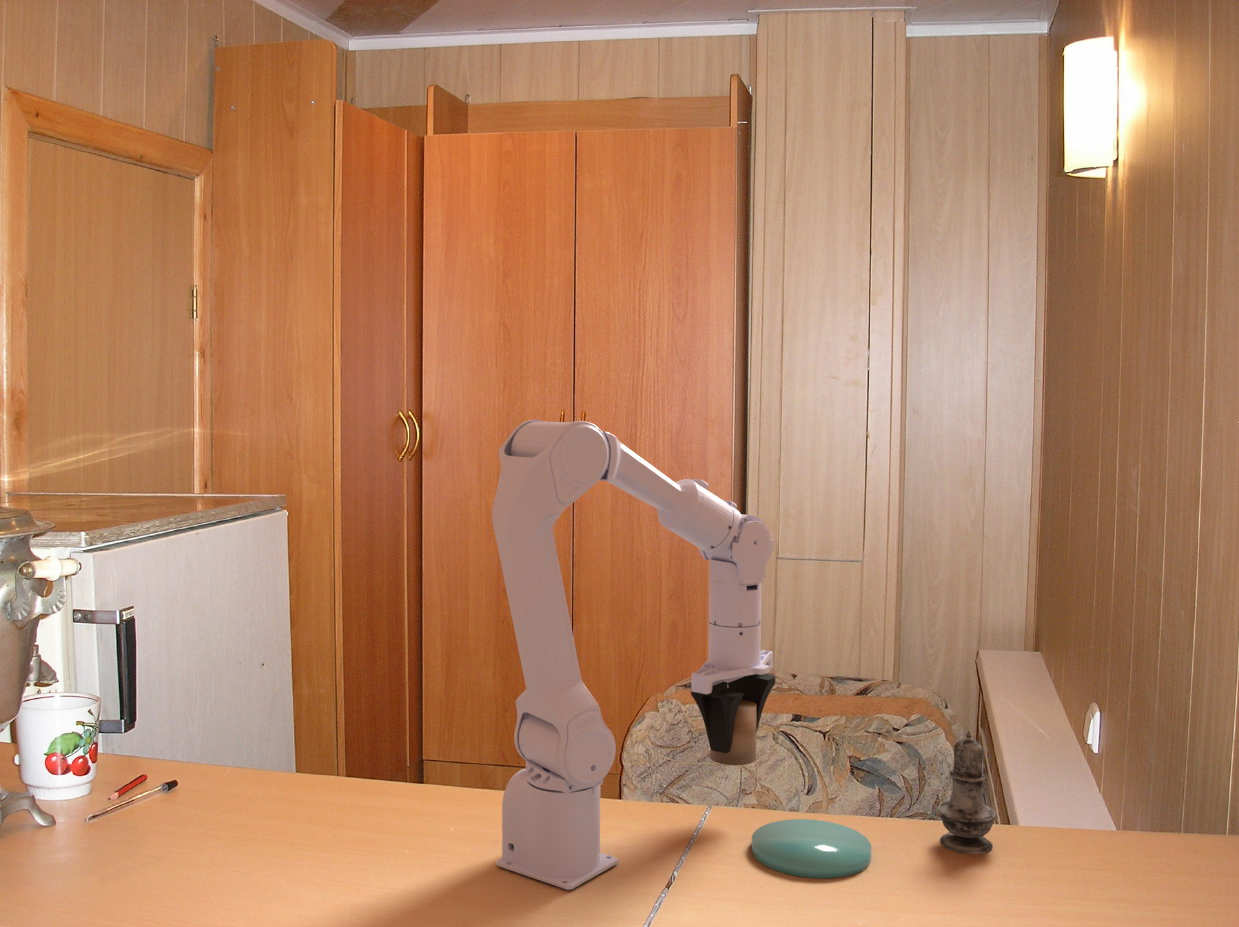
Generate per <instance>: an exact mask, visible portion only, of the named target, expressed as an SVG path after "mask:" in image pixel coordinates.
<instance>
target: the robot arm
mask: <svg viewBox="0 0 1239 927" xmlns="http://www.w3.org/2000/svg"><path fill="white" fill-rule="evenodd" d="M498 457H499V461H500V465H501V469H500V473H499V478H498V482H497V487H496V491H495V496H494V501H493V505H492V508H491V510H492V511H491V520H492V521H491V522H492V527H493V532H494V535H495V542H496V547H497V550H498V556H499V560H500V565H501V571H502V575H503V576H502V577H503V579H504V580H503V581H504V586H505V589H506V595H507V599H508V604H509V605H508V606H509V608H510V616H511V620H512V624H513V629H514V635H515V639H516V644H517V650H518V654H519V658H520V665H521V669H522V674H523V679H524V683H525V689H524V691H523V692H521V694H520V695H519V696H518V697H517V698H516V700H515V706H516V707H515V709H516V714H517V715H516V716H517V717H516V724H515V727H514V734H513V738H514V739H513V740H514V746H515V748H516V751H517V752H518V754H519V756H520V757H521V758H522V759H524V760H525V768H522V769H520V770H519V771H517V772H516V773H515V774H514V775H512V776H511V778H510V779H509V780H508V782H507V785H506V787H505V790H504V793H503V796H502V803H501V804H502V805H501V806H502V807H501V809H502V811H501V814H502V815H501V816H502V817H501V818H502V819H501V821H502V824H501V827H502V828H501V834H502V836H501V839H502V840H501V847H502V849H501V850H502V851H501V852H502V853H501V857H500V858H498V859H497V860H496V866H497V867H500V868H503V869H505V870H508V871H512V872H514V873H517V874H520V875H524V876H525V877H529V878H532V879H535V880H538V881H540V882H543V883H546V884H549V885H553V886H555V887H558V888H561V889H564V890H568V891H569V890H573V889H575V888H578V887H579V886H580V885H582V884H583V883H585V882H587V881H589V880H591V879H593V878H594V877H596V876H598V875H599V874H602V873H603V872H605V871H606V870H608V869H610V868H612V867H614V866H615V865H617V864H618V863H619V859H618V857H617V856H613V855H609V854H606V853H604V852H601V848H600V847H601V786H602V785H604V778H605V777H606V776H607V774H608V773H609V772H610V771H611V768H612V767H613V764H614V762H615V758H616V752H617V750H616V749H617V748H616V747H617V746H616V740H615V737H614V734H613V732H612V731H611V729H610V728H609V727H608V725H606V723H605V721H604V720H603V717H602V712H601V708H600V706H601V705H599V703H598V702H597V700H596V699H595V697H594V696H593V694H592V693H591V691H589V689H588V688H587V686H586V685H585V683H584V682H583V679H582V675H581V670H580V665H579V659H578V655H577V654H578V653H577V649H576V644H575V638H574V634H573V629H572V623H571V619H570V613H569V607H568V602H567V598H566V592H565V587H564V581H563V576H562V572H561V566H560V562H559V560H560V559H559V556H558V550H557V545H556V539H555V534H554V530H553V529H554V525H555V523H556V522H557V521H558V519H559V517H560V516H561V515H562V513H563V512H564V511H565V510H566V509H567V508H569V506H571V505H572V504H573V503H575V501H577V500H578V499H579V498H580V497H581V496H583V495H584V494H585V493H586V492H587V491H589V490H590V489H591V488H592V487H593V486H595V485H596V484H597V483H598V482H599V481H604V482H607V483H609V484H611V485H612V486H613V487H614V486H615V487H616V488H618V489H620V490H621V491H624V492H626V493H627V494H629V495H630V496H633V497H634V498H636V499H638V500H640V501H642V502H644V503H645V504H647V505H648V506H651V507H653V508H655V509H656V511H657V517H658V521H659V523H660V525H662V527H664V528H665V529H667V530H668V531H670V532H672V533H673V534H675V535H677V536H678V537H680V538H682V539H683V540H685V541H687V542H689V543H690V544H691V545H693V546H695V547H697V548H698V551H699V553H700V555H701V557H702V558H703V559H704V560H705V561H709V564H708V565H709V566H708V567H709V568H708V569H709V570H708V572H709V573H708V575H709V576H708V577H709V578H708V587H709V588H708V638H707V639H708V642H707V643H708V645H707V646H708V647H707V648H708V649H707V653H708V654H707V660H706V661H705V662H704V663H703V664H702V665H701V667H700V668H699V669H698V670H697V671H694V672H692V673H691V681H690V682H691V685H690V696H691V697H692V698H693V700H694V701H695V703H696V705H697V707H698V710H699V712H700V715H701V717H702V720H703V723H704V727H705V732H706V736H707V740H708V744H709V748H711V750H713V751H717V752H722V753H728V752H730V749H731V745H732V739H733V729H734V721H735V716H736V713H737V709H738V706H739V703H740V701H741V699H745V700H750V701H752V702H754V703H756V705H757V712H756V735H757V733H758V729H759V725H760V721H761V717H762V713H763V710H764V707H765V704H766V702H767V700H768V696H769V695H770V693H771V691H772V689H773V687H774V686H775V685H776V675H774V674H770V673H769V672H770V670H771V669H773V668H774V651H771V650H763V649H761V642H762V640H761V638H762V636H761V633H762V628H761V627H762V584H763V582H764V578H766V574H767V573H766V572H767V570H766V569H767V565H768V562H769V561H770V559H771V557H772V555H773V552H774V548H775V539H772V536H771V535H772V534H771V532H770V529H769V528H768V526H767V524H766V523H765V522H764V521H763V519H762V518H761V517H758V516H756V515H750V514H741V512H740V511H739V510H738V509H737V507H738V505H737V504H736V503H735V502H733V500H723V499H721V498H720V497H719V496H717V495H715V494H714V493H713V492H711V491H709V490H708V488H709V483H707V482H706V481H705V480H703V479H700V478H699V479H698V478H692V479H691V478H690V479H689V478H683V479H680V480H677V481H674V480H672V479H671V478H670V477H669V476H667V475H665V473H663V472H661V471H660V470H659V469H658V468H656V467H655V466H654V465H652V464H650V463H649V462H648V461H646V460H645V459H643V457H641V456H639V455H638V454H637V453H635V451H633V450H631V449H630V448H628V447H627V446H626V445H625V444H623V443H622V442H621V441H620V440H619V439H618V438H617V436H616V435H615V434H613V433H611V432H608V431H605V430H601V428H599V427H598V426H597V425H596V424H594V423H592V422H589V421H586V420H585V421H584V420H576V421H571V422H570V421H569V422H567V421H564V422H563V421H543V420H541V419H540V420H539V419H529V420H526V421H523V422H522V423H520V424H518V425H517V426H516V427H515V428H514V429H513V430H512V432H511V433H510V434H509V436H508V437H507V439H506V440H505V441H504V442H503V443H502V445H501V446H500V448H499V449H498Z"/></svg>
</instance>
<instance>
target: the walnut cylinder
mask: <svg viewBox="0 0 1239 927" xmlns="http://www.w3.org/2000/svg"><path fill="white" fill-rule="evenodd" d="M756 712H757V705H756V703H754V702H752V701H750V700H745V699H741V701H740V703H739V706H738V709H737V713H736V716H735V721H734V729H733V739H732V745H731V749H730V752H728V753H722V752H717V751H713V750H711V748H710V747H709V748H710V750H709V752H710V754H709V757H710V760H712V761H713V762H714V763H717V764H721V765H726V766H745V765H749V764H752V763H754V762H756V760H757V759H756V758H757V734H756Z"/></svg>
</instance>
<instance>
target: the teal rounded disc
mask: <svg viewBox="0 0 1239 927" xmlns="http://www.w3.org/2000/svg"><path fill="white" fill-rule="evenodd" d="M751 853H752V855H753V857H754V858H755V859H756V860H757V861H758V862H759V863H760V864H762V865H764V866H765V867H767V868H769V869H771V870H774V871H776V872H779V873H782V874H786V875H791V876H795V877H800V878H809V879H810V878H811V879H833V878H835V879H836V878H842V877H848V876H852V875H853V876H854V875H855V874H858V873H860V872H862V871H863V870H865V869H867V867H869V865H870V863H871V860H872V844H871V842H870V840H869V839H868V838H867V837H866V836H865V835H864V834H862V833H860V832H859V831H857V830H856V829H853V828H851V827H849V826H845V825H842V824H839V823H835V822H831V821H827V820H826V821H825V820H819V819H805V818H801V819H800V818H798V819H797V818H794V819H793V818H791V819H784V820H777V821H772V822H769V823H766V824H763V825H761V826H760V827H758V828H757V829H756V830H755V831H754V832H753V834H752V836H751Z"/></svg>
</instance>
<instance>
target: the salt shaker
mask: <svg viewBox="0 0 1239 927" xmlns="http://www.w3.org/2000/svg"><path fill="white" fill-rule="evenodd" d="M965 736H966V737H964V738H963V739H959V740H958V741H956V742H955V744H954V746H953V769H952V770H950V771H949V775H950V777H952V785H951V786H952V788H951V789H952V791H951V796H950V798H949V800H946V801H943V802H941V803H940V804H939V805H938V806H937V811H938V812H939V813H940V820H941V823H942V824H943V827H944V828H945V829H946V830H947V831H948V832H947V833H946V834H943V835H942V836H941V837H940V838H939V843H940V844H941V846H943V847H944V848H946V849H948V850H949V851H952V852H956V853H961V854H967V855H982V854H983V855H984V854H987V853H990V852H991V851H992V850H993V848H994V847H993V843H992V842H991V841H990V840H989V839H987V838H986V837H985V836H986V835H987V834H988V833H989V832H990V831H991V829H992V827H993V825H994V820H995V819H996V818H997V812H996V810H995V809H993V808H992V807H991V806H988V805H986V804H985V801H984V795H983V789H984V788H983V786H984V784H983V783H984V780H986V778H987V775H986V774H985V773H984V772H983V761H984V760H983V757H984V756H983V754H984V753H983V752H984V749H983V746H982V745H981V743H980V742H978V741H977V740H974V739H973V738H972V736H973V734H972V733H971V732H970V731H969V730H968V731H967V732H966V733H965Z"/></svg>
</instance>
